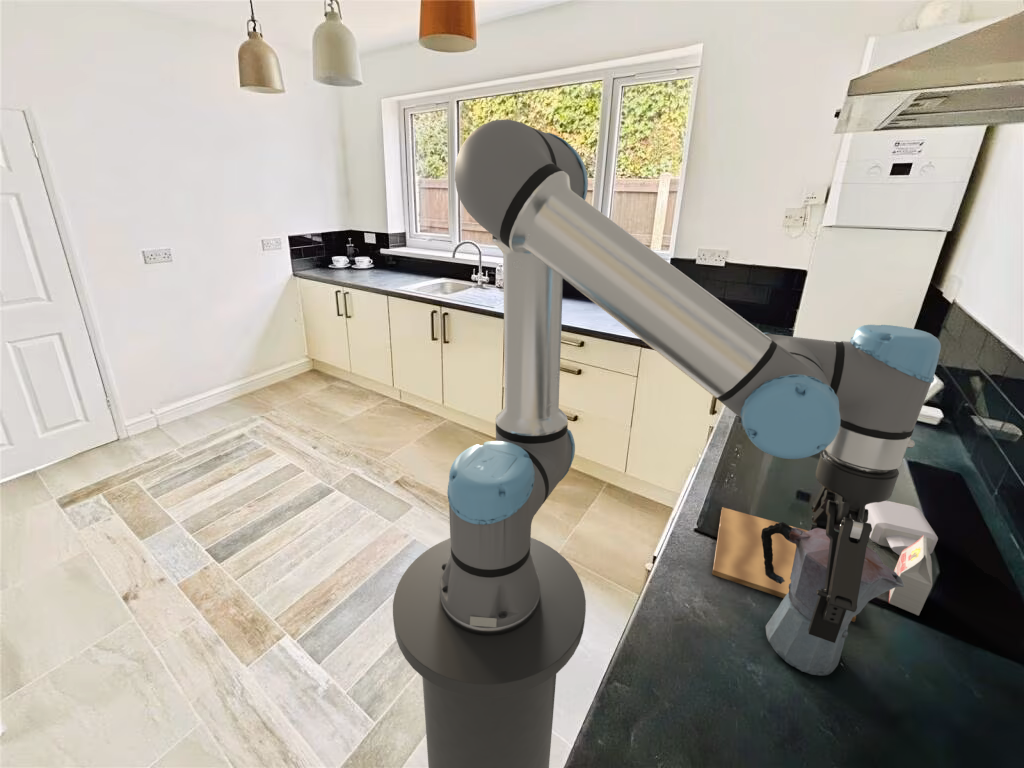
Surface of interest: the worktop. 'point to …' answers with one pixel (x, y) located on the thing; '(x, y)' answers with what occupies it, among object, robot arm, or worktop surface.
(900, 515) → the charger
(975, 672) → the worktop surface
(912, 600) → the white printed carton
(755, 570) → the trivet
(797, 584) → the moka pot
